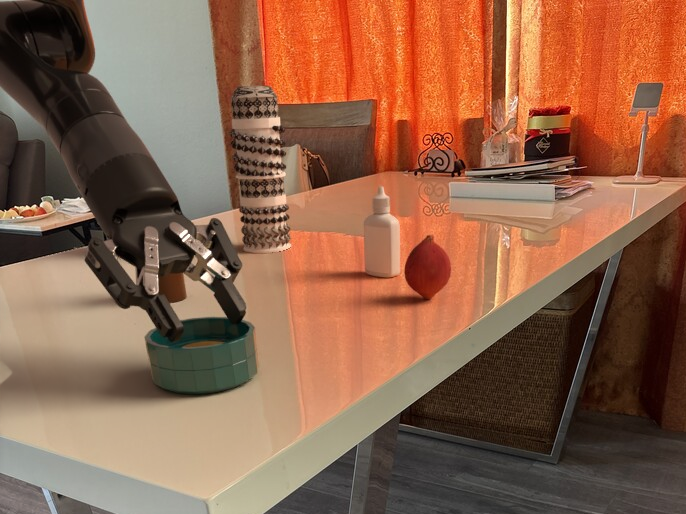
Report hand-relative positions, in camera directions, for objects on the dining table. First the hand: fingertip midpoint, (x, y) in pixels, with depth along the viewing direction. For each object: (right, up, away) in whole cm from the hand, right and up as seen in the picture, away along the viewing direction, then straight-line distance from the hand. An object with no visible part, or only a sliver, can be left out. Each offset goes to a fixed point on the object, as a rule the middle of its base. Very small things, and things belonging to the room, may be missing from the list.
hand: (209, 327), depth 65 cm
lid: (-1, -2, +3) cm, 4 cm away
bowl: (-1, -4, +4) cm, 5 cm away
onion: (+22, +9, +27) cm, 36 cm away
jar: (-12, +11, +31) cm, 35 cm away
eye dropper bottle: (+17, +16, +40) cm, 46 cm away
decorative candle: (-3, +27, +61) cm, 66 cm away
